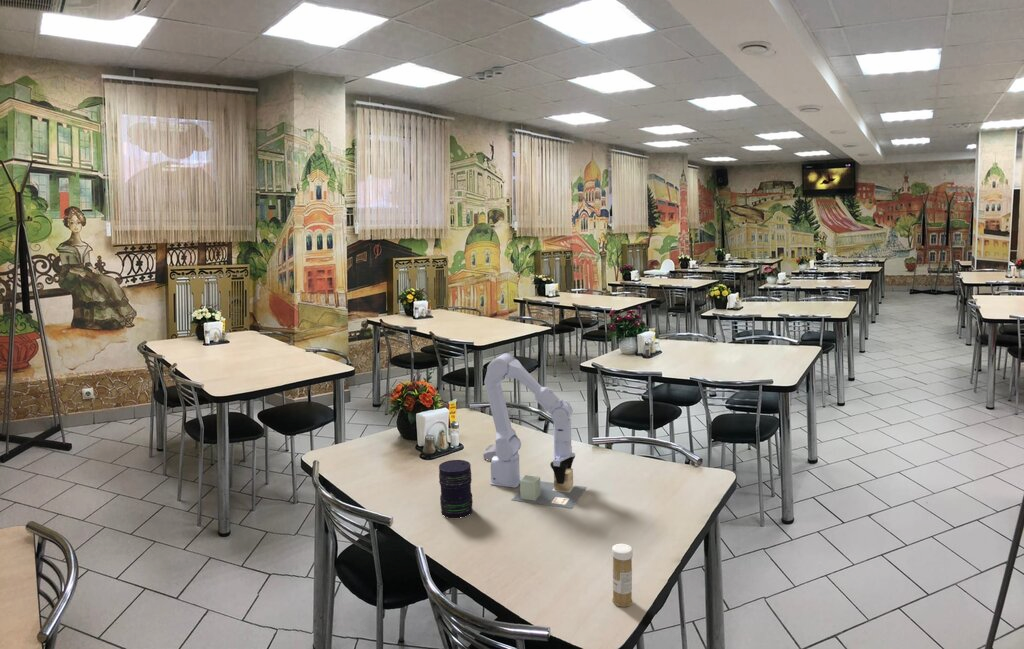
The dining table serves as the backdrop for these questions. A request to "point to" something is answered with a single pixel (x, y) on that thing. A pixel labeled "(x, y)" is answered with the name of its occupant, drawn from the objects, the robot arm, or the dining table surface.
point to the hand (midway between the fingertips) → (563, 479)
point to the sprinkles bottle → (622, 575)
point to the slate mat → (555, 496)
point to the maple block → (565, 481)
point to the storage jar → (455, 488)
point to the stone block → (490, 452)
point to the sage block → (530, 487)
